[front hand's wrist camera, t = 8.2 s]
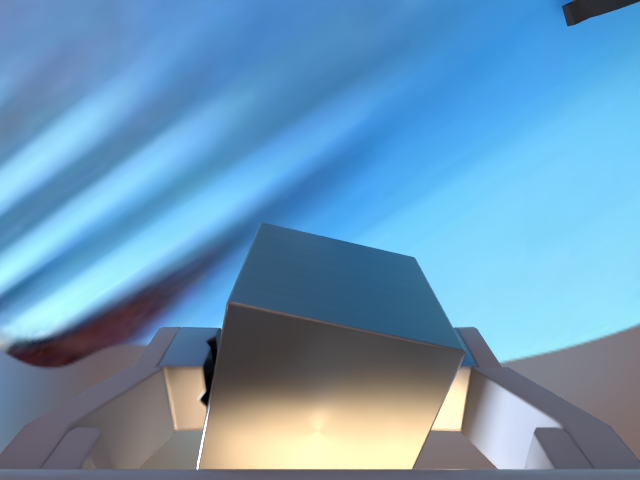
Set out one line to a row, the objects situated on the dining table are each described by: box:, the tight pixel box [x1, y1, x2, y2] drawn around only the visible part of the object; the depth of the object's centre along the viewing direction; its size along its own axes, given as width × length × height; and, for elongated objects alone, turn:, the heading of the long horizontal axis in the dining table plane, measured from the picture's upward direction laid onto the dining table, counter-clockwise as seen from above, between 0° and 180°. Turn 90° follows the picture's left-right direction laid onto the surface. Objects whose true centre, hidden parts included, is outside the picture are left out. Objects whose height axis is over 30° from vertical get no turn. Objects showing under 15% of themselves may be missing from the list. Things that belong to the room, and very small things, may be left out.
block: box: [196, 223, 466, 469], centre depth 10 cm, size 4×5×4 cm
